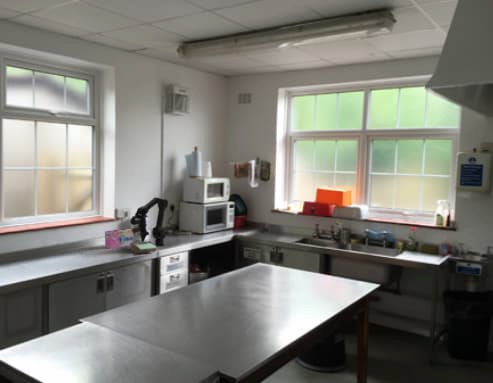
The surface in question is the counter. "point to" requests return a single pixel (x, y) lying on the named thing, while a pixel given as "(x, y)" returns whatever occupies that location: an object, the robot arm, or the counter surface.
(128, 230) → the gum box
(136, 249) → the box
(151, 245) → the lid
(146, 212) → the robot arm
